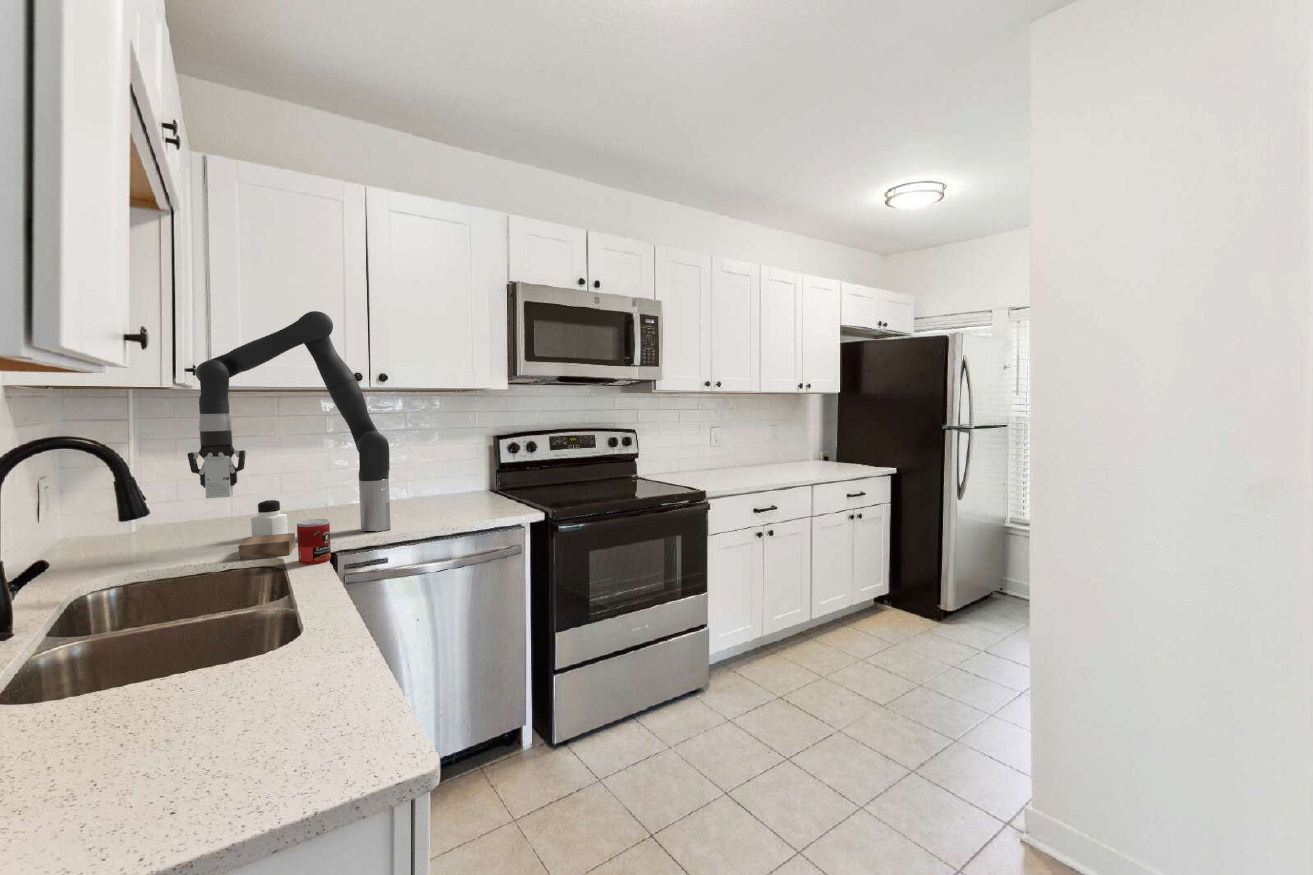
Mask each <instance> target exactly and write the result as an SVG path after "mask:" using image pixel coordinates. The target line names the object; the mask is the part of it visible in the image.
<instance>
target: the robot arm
mask: <svg viewBox="0 0 1313 875" xmlns="http://www.w3.org/2000/svg"><path fill="white" fill-rule="evenodd" d="M333 329H334V323H333V320H332V319H331V317H330V316H329V315H328V314H326V313H325V312H322V311H319V310H318V311H316V310H314V311H313V310H312V311H308V312H306V313H304V314H303V315H302V316H300V317H299V318H298V320H297V319H296V321H294V322H293V323H291V324H289V325H287V326H286V327H284V328H282V329H279V330H278V331H274V332H272V333H270V334H268V335H265V336H262V337H259V338H257V339H255V340H252V341H249V342H247V343H245V344H242V345H240V346H238V347H236V348H233V349H231V350H230V351H229V352H227V353H224V354H221V355H218V356H216V357H213V358H211V359H208V360H206V361H203V362H201V363H199V365H197V366H196V370H195V376H196V378H197V380H198V381H199V385H200V386H199V388H200V396H199V398H198V399H199V401H198V408H199V423H198V425H199V426H198V430H199V441H200V443H199V444H200V449H199V451H192V452H189V453H186V454H187V459H188V463H189V467H190V471H191V474H196V475H197V474H198V475H199V481H200V486H202V487H203V488H205V462H204V461H203V463H202V465H201V468H199V466H198V461H197V460H198V459H199V456H200V457H201V458H202V459H203V460H204V458H205V457H208V458H212V457H213V456H219V457H220V458H223V457H225V456H229V457H232V458H233V456H234V454H235V457H236V458H238V460H237V462H238V463H237V467H236V466H235V465H234V462H233V460H232V461H231V463H230V462H229V466H230V472H231V473H230V485H231V486H233V487H234V486H235V485H236V484H237V483H238V472H240V471H243V470H244V469H245V465H246V464H245V462H246V455H247V454H246V453H247V452H246V450H245V449H242V450H240V449H237V450H236V449H235V448H234V447H233V434H232V432H233V430H232V420H231V416H230V403H229V402H230V401H229V389H230V378H232V377H234V376H236V375H238V374H240V373H244V372H247V371H250V370H252V369H254V368H257V367H258V366H261V365H263V364H266V363H268V362H269V361H271V360H273V359H275V358H276V357H278V356H281V355H282V354H284V353H285V352H287V351H290V350H291V349H294V348H296V347H299V346H301V345H304V346H305V347H306V349H307V350H308V352H309V354H310V355H311V357H312V359H313V361H314V362H315V365H316V368H317V370H318V372H319V374H320V377H321V379H322V380H323V383H324V386H325V387H326V389H327V391H328V394H329V396H330V398H331V400H332V401H333V403H334V404H335V406H336V408H337V410H338V411H339V413H340V414H341V416H342V418H343V419H344V421H345V422H346V424H347V426H348V428H349V431H350V433H351V436H352V438H353V442H354V444H355V448H356V450H357V452H358V457H359V470H358V490H359V491H358V492H359V515H360V516H359V517H360V521H359V522H360V525H359V526H360V531H361V532H363V531H376V532H383V531H388V530H389V529H390V530H392V528H391V504H390V502H391V501H390V482H389V480H390V478H389V477H390V476H389V475H390V470H391V469H390V468H391V467H390V444H389V441H388V439H387V438H386V436H384V435H383V434H381V433H380V432H379V431H378V428H377V427H376V426H375V424H374V421H373V420H372V419H371V417H370V414H369V411H368V407H367V406H368V405H367V404H366V400H365V397H364V394H363V390H362V388H361V386H360V385H359V382H358V380H357V378H356V376H355V375H354V373H353V371H352V370H351V368H350V367H349V366H348V365H347V363H345V361H344V360H343V359H342V358H341V357H340V355H339V354H338V352H337V351H336V348H335V347H334V344H333V342H332V339H331V337H330V335H331V334H332V332H333Z"/></svg>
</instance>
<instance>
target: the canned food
mask: <svg viewBox="0 0 1313 875" xmlns="http://www.w3.org/2000/svg"><path fill="white" fill-rule="evenodd" d="M296 534H297V535H296V536H297V538H296V539H297V555H298V557H297V558H298V562H299V564H302V565H309V566H310V565H317V564H318V565H319V564H324V563H326V562H329V561H330V560H331V557H332V550H331V549H332V548H331V547H332V546H331V526H330V520H329V519H326V518H312V519H305V520H300V521H298V522H296Z"/></svg>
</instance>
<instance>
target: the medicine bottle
mask: <svg viewBox="0 0 1313 875" xmlns="http://www.w3.org/2000/svg"><path fill="white" fill-rule="evenodd" d="M250 521H251V525H250V526H251V537H252V536H264V535H276V534H288V533H289V532H288V529H289V528H288V514H286V513H281V503H280V500H276V499H273V500H272V499H268V500H262V501H260V502H258V503H257V516H253V517H251V518H250Z"/></svg>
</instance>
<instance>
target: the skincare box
mask: <svg viewBox="0 0 1313 875" xmlns="http://www.w3.org/2000/svg"><path fill="white" fill-rule="evenodd" d="M231 461H232V462H233V456H232V457H229V456H225V457H223V458H220V457H219V456H213V457H212V458H208V457H205V458H204V459H203V463H204V462H205V499H215V498H230V497H232V496H233V495H234V490H233V489H234V486H231V485H230V473H231V472H230V466H229V462H230V463H231Z"/></svg>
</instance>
